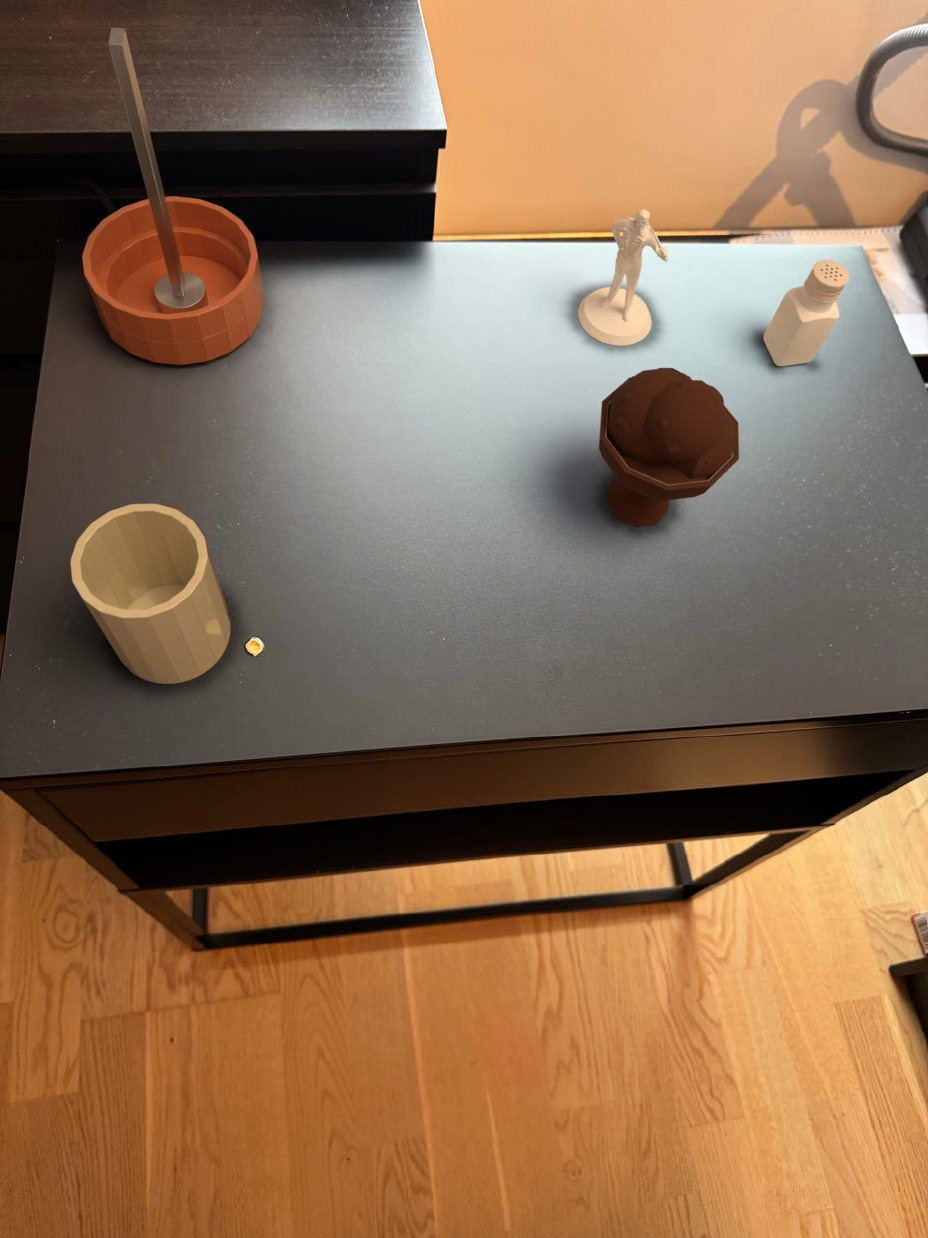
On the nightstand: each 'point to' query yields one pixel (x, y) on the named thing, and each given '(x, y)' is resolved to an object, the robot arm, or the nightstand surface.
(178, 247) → the bowl
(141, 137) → the metal stirring rod
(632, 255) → the figurine
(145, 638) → the crock
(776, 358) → the salt shaker
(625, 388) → the ice cream bowl
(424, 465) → the nightstand surface
